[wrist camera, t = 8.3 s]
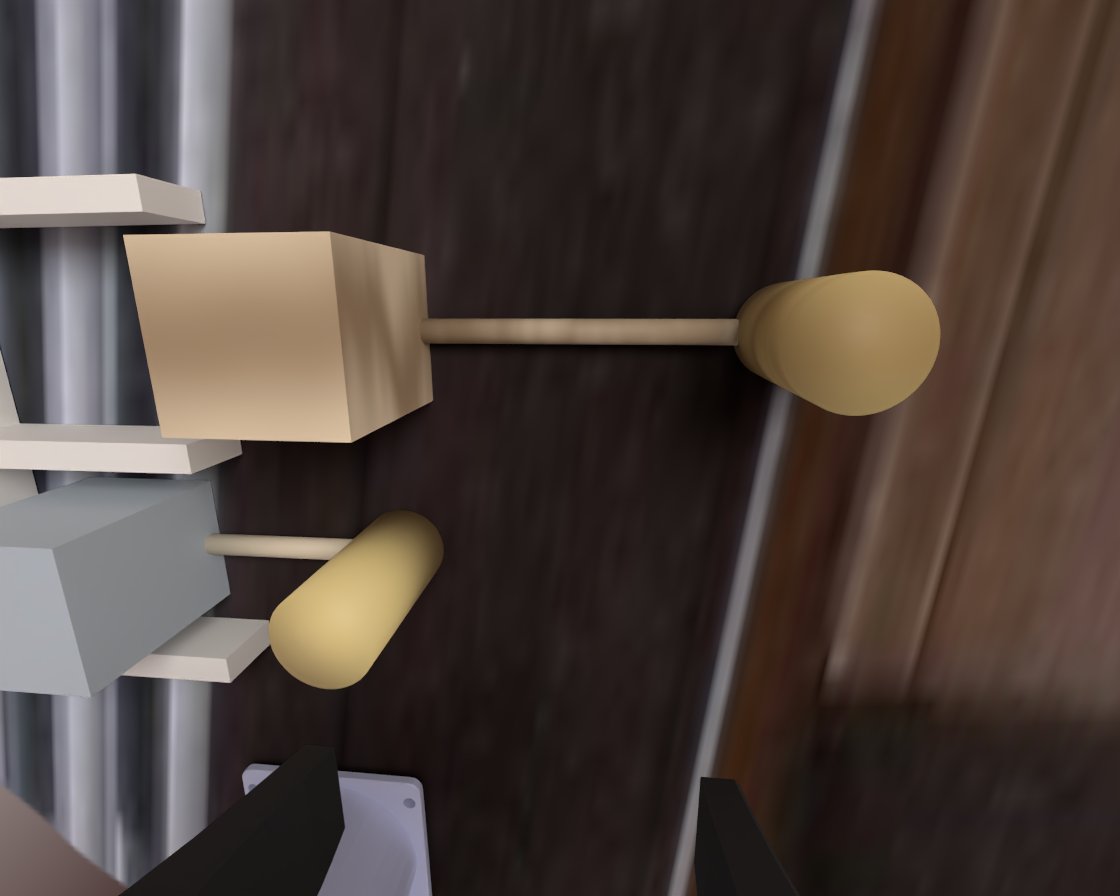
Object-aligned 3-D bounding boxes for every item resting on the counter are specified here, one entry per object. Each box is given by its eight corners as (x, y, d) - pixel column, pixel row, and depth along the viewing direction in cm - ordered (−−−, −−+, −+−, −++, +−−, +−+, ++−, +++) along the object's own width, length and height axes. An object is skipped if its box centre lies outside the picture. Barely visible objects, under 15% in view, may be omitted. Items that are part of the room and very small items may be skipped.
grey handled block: (447, 605, 21) (381, 719, 15) (117, 587, 22) (-56, 685, 17) (439, 487, 20) (365, 563, 14) (91, 476, 21) (-106, 541, 15)
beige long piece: (821, 407, 18) (920, 457, 12) (297, 398, 19) (162, 437, 14) (841, 251, 16) (961, 221, 11) (280, 257, 18) (122, 234, 12)
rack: (272, 642, 22) (199, 712, 18) (53, 628, 23) (-59, 692, 19) (200, 191, 18) (86, 160, 14) (-66, 198, 19) (-239, 172, 15)
